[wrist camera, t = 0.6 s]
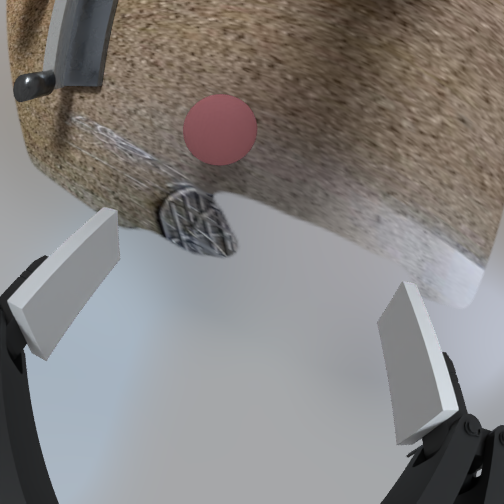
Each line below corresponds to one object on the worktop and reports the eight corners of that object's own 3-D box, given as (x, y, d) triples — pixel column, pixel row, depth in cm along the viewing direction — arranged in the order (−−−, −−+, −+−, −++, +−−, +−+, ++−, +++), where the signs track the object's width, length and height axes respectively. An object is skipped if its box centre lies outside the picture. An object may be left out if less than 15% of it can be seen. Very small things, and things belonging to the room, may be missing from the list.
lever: (87, -58, 18) (49, -72, 10) (114, -65, 18) (77, -83, 10) (53, 91, 32) (9, 102, 25) (77, 91, 32) (32, 101, 25)
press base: (94, -61, 19) (85, -65, 17) (141, -71, 19) (133, -77, 17) (60, 84, 33) (48, 87, 31) (102, 85, 33) (90, 87, 31)
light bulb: (254, 153, 37) (236, 185, 27) (201, 135, 36) (164, 160, 26) (273, 102, 33) (263, 111, 23) (217, 84, 32) (183, 87, 22)
